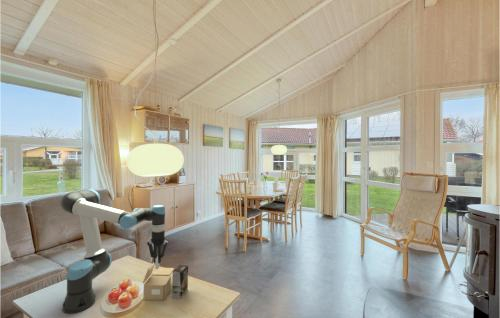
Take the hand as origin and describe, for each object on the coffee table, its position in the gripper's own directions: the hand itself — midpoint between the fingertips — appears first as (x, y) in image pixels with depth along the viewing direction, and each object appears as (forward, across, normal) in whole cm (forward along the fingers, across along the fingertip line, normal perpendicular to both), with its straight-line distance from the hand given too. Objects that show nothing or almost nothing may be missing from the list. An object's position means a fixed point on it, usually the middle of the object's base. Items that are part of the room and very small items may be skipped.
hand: (157, 268), depth 141 cm
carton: (+16, +1, +4) cm, 17 cm away
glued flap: (+7, -6, 0) cm, 9 cm away
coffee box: (+17, +14, +1) cm, 22 cm away
